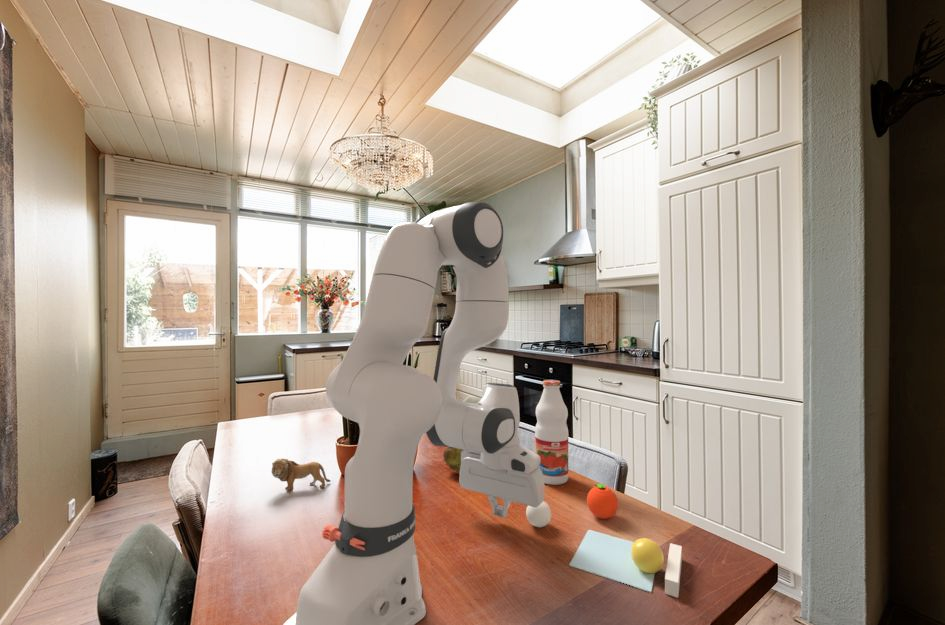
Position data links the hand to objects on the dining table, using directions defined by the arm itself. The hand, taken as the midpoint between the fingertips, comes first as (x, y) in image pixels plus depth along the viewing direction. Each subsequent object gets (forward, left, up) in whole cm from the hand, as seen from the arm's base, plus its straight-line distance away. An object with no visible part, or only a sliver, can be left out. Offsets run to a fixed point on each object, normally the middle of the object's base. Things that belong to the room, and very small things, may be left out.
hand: (500, 515), depth 88 cm
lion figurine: (-12, +54, -2) cm, 55 cm away
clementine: (+15, -19, -2) cm, 24 cm away
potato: (+19, +21, -2) cm, 28 cm away
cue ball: (+3, -8, +1) cm, 9 cm away
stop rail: (0, -35, -2) cm, 35 cm away
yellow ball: (-1, -31, +1) cm, 31 cm away
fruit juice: (+29, -2, -2) cm, 29 cm away
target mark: (0, -25, -2) cm, 25 cm away
